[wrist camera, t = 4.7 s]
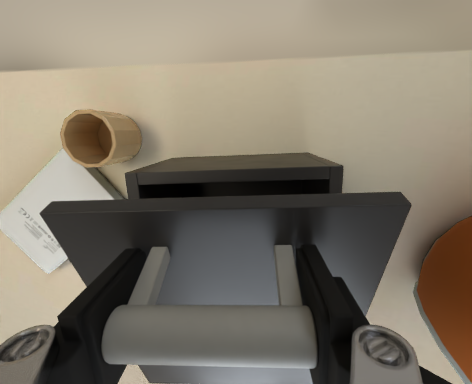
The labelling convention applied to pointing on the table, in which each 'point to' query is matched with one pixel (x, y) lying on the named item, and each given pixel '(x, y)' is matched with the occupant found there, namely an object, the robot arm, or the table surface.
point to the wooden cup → (100, 138)
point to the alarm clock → (449, 296)
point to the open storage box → (236, 176)
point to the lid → (226, 277)
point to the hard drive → (39, 196)
